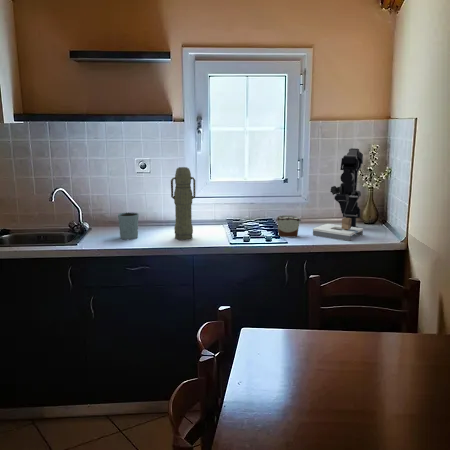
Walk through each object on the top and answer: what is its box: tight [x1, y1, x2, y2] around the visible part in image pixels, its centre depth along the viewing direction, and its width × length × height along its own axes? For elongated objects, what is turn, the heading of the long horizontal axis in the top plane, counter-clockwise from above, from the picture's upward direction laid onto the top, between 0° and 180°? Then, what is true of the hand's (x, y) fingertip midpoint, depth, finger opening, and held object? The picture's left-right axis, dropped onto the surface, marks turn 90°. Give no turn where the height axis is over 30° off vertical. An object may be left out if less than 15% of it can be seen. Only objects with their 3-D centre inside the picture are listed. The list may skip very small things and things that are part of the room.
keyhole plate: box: [312, 223, 364, 242], centre depth 271 cm, size 16×20×4 cm
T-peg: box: [341, 217, 351, 230], centre depth 268 cm, size 4×4×9 cm
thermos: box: [170, 166, 196, 241], centre depth 260 cm, size 9×12×35 cm
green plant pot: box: [117, 212, 140, 241], centre depth 263 cm, size 10×10×12 cm
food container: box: [276, 214, 302, 238], centre depth 270 cm, size 12×6×10 cm, turn 84°
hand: (347, 212), depth 266 cm, fingers open, 9 cm apart
